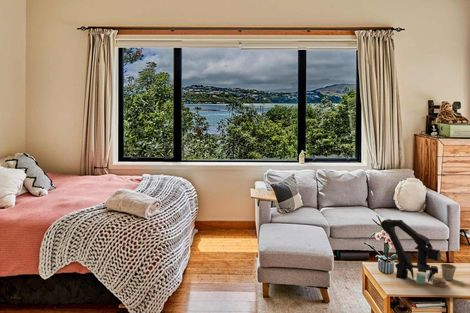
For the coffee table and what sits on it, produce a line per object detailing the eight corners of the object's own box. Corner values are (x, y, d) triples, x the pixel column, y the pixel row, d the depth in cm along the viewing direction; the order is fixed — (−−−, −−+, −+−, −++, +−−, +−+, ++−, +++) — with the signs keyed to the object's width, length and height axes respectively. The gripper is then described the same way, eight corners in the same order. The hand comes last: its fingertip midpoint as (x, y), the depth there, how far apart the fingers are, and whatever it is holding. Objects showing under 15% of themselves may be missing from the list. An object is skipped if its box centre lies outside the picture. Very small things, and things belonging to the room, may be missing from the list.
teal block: (416, 283, 274) (417, 275, 274) (416, 280, 279) (416, 272, 278) (425, 284, 272) (425, 276, 272) (424, 281, 277) (425, 274, 276)
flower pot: (456, 278, 283) (457, 265, 282) (454, 283, 275) (455, 270, 274) (440, 274, 288) (441, 262, 287) (438, 279, 280) (439, 266, 279)
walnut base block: (433, 286, 271) (433, 280, 270) (432, 281, 277) (432, 276, 277) (445, 287, 268) (445, 282, 268) (444, 283, 275) (444, 278, 274)
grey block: (427, 279, 280) (427, 273, 280) (425, 277, 284) (425, 271, 284) (433, 280, 280) (434, 274, 279) (431, 277, 284) (431, 271, 283)
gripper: (406, 259, 270) (405, 283, 271) (439, 263, 263) (437, 287, 265) (406, 253, 280) (405, 276, 282) (438, 257, 273) (436, 281, 275)
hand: (420, 280), depth 275 cm, fingers open, 9 cm apart
